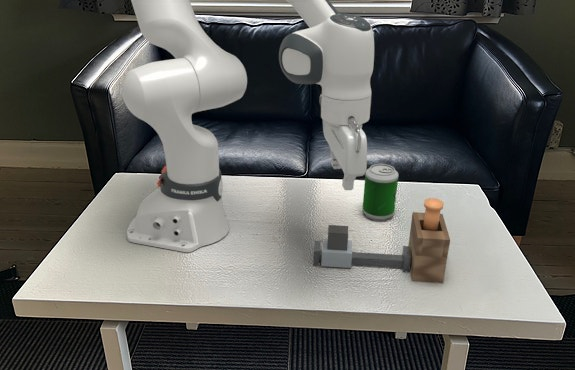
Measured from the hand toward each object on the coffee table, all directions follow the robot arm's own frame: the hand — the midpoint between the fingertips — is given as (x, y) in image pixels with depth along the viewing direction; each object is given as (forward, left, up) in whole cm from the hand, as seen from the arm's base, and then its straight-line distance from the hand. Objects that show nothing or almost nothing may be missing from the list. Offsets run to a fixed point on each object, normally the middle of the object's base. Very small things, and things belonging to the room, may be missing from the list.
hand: (341, 177), depth 108 cm
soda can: (+9, +21, -20) cm, 30 cm away
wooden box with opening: (+18, 0, -19) cm, 26 cm away
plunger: (+18, 0, -11) cm, 21 cm away
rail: (+5, 0, -19) cm, 20 cm away
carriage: (0, 0, -19) cm, 19 cm away
